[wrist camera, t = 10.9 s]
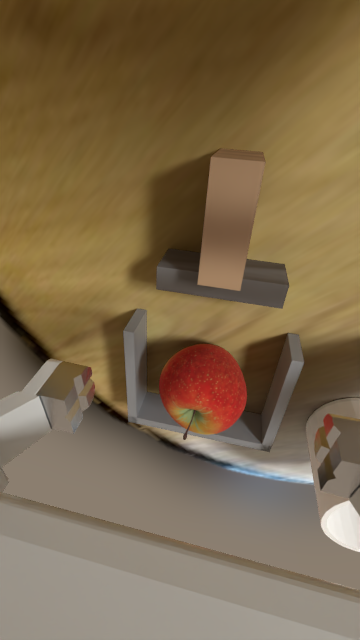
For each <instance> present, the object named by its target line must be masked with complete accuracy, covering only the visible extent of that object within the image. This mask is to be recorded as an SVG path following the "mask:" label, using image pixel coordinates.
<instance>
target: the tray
mask: <svg viewBox="0 0 360 640" xmlns="http://www.w3.org/2000/svg"><path fill="white" fill-rule="evenodd" d="M123 335H124V352H125V369H126V387H127V404H128V421H129V422H133V423H138V424H142V425H147V426H152V427H156V428H161V429H165V430H170V431H175V432H179V433H184V434H185V432H186V430H187V429H185V428H183V427H182V426H180V425H179V424H178V423H177V422H176V421H175V420H174V419H173V418H172V417H171V416H170V415H169V413H168V412H167V410H166V409H165V407H164V405H163V403H162V400H161V397H160V394H156V393H151V392H147V310H143V309H137V310H136V311H135V313H134V314H133V316H132V318H131V319H130V321H129V322H128V324H127V326H126V327H125V329H124V331H123ZM303 364H304V359H303V354H302V349H301V344H300V339H299V335H297V334H290V333H288V334H287V337H286V340H285V343H284V347H283V350H282V353H281V356H280V359H279V362H278V365H277V368H276V371H275V374H274V377H273V381H272V384H271V387H270V390H269V393H268V396H267V399H266V402H265V405H264V408H263V411H262V414H261V415H260V414H255V413H251V412H246V411H243V413H242V414H241V416H240V417H239V419H238V420H237V421H236V422H235V423H234V424H233V425H232V426H231V427H229V428H228V429H226V430H225V431H222V432H220V433H217V434H211V435H205V434H198V433H194V432H191V431H189V430H188V433H187V434H189V435H193V436H198V437H202V438H207V439H212V440H216V441H221V442H226V443H230V444H235V445H240V446H244V447H249V448H253V449H258V450H263V451H267V452H270V449H271V447H272V444H273V442H274V439H275V437H276V434H277V431H278V429H279V426H280V424H281V421H282V419H283V416H284V413H285V411H286V408H287V406H288V403H289V401H290V398H291V395H292V393H293V390H294V388H295V385H296V382H297V380H298V377H299V375H300V372H301V370H302V367H303Z"/></svg>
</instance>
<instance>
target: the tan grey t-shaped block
mask: <svg viewBox="0 0 360 640" xmlns="http://www.w3.org/2000/svg"><path fill="white" fill-rule="evenodd" d="M264 167H265V158H264V154H263V152H255V151H244V150H233V149H219V150H218V151H217V152H216V153H215V154H214V155H213V156H211V161H210V171H209V180H208V190H207V199H206V209H205V218H204V228H203V237H202V246H201V253H198V252H191V251H183V250H176V249H168V250H167V252H166V253H165V255H164V256H163V258H162V259H161V261H160V263H159V264H158V266H157V286H156V289H158V290H165V291H171V292H178V293H184V294H191V295H197V296H204V297H210V298H217V299H223V300H230V301H236V302H243V303H249V304H256V305H262V306H269V307H275V308H283V304H284V301H285V298H286V294H287V291H288V288H289V282H288V278H287V273H286V268H285V264H279V263H271V262H264V261H257V260H249V259H247V254H248V249H249V243H250V238H251V233H252V228H253V223H254V218H255V213H256V208H257V203H258V198H259V193H260V188H261V183H262V178H263V172H264Z"/></svg>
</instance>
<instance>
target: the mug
mask: <svg viewBox="0 0 360 640" xmlns="http://www.w3.org/2000/svg"><path fill="white" fill-rule="evenodd" d="M328 413H329V414H335V415H340V416H346V417H351V418H357V419H360V398H346V399H340V400H335V401H332V402H330V403H327V404H325V405H323V406H321V407H320V408H318V409H317V410H316V411H315V412H314V413H313V414H312V415H311V416H310V417H309V419H308V421H307V423H306V436H307V443H308V449H309V455H310V461H311V467H312V473H313V479H314V486H315V491H316V497H317V504H318V510H319V516H320V522H321V527H322V529H323V531H324V532H325V534H326V535H327V536H328V537H329V538H331V539H332V540H333V541H335V542H336V543H338V544H340V545H342V546H344V547H346V548H349V549H352V550H354V551H358V552H360V516H359V514H358V513H357V511H356V510H355V508H354V507H353V505H352V504H351V502H350V501H349V498H345V497H342V496H338V495H334V494H330V493H326V492H322V491H320V484H319V478H318V471H317V470H318V468H319V466H320V465H321V463H320V462H319V461H318V460H317V458H316V457H315V451H314V441H315V435H316V433H317V431H318V428H320V427H323V426H324V422H323V419H324V417H325V416H326V415H327V414H328Z"/></svg>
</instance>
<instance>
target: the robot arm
mask: <svg viewBox="0 0 360 640" xmlns="http://www.w3.org/2000/svg"><path fill="white" fill-rule="evenodd" d="M91 375H92V370H91V367H87V366H83V365H78V364H74V363H69V362H65V361H60V360H55V359H49V360H48V361H46V362H45V363H44V365H43V366H42V367H41V368H40V370H39V371H38V372H37V373H36V374H35V376H34V377H33V378H32V379H31V381H30V382H29V383H28V384H27V386H26V387H25V388H24V389H23V390H22V391H21V392H18V391H17V392H15V393H13V394H11V395H9V396H7V397H5V398H3V399H1V400H0V640H360V590H357V589H354V588H350V587H346V586H343V585H339V584H335V583H331V582H328V581H324V580H321V579H317V578H313V577H310V576H306V575H303V574H299V573H295V572H291V571H288V570H284V569H281V568H277V567H273V566H270V565H266V564H262V563H259V562H255V561H251V560H248V559H244V558H240V557H237V556H233V555H229V554H226V553H222V552H218V551H215V550H211V549H207V548H204V547H200V546H197V545H193V544H189V543H186V542H182V541H178V540H175V539H171V538H167V537H164V536H160V535H156V534H153V533H149V532H145V531H142V530H138V529H134V528H131V527H127V526H124V525H120V524H116V523H113V522H109V521H105V520H102V519H98V518H94V517H91V516H87V515H83V514H80V513H76V512H72V511H69V510H65V509H61V508H57V507H54V506H50V505H47V504H43V503H39V502H36V501H32V500H28V499H25V498H21V497H17V496H14V495H10V494H6V493H3V491H4V489H5V488H6V486H7V484H8V483H9V482H8V477H7V476H6V474H5V473H4V471H3V470H2V467H3V466H5V465H6V464H7V463H8V462H10V461H11V460H13V459H14V458H15V457H17V456H18V455H19V454H21V453H22V452H23V451H24V450H26V449H27V448H29V447H30V446H31V445H32V444H34V443H35V442H37V441H38V440H39V439H41V438H42V437H43V436H45V435H46V434H47V433H49V432H50V431H51V429H54V430H59V431H64V432H68V433H73V434H74V432H75V431H76V429H77V427H78V425H79V424H80V422H81V420H82V418H83V416H82V411H83V410H85V409H87V408H88V407H89V406H90V404H91V402H92V400H93V396H94V393H95V385H94V382H93V381H92V380H91V379H90V377H91ZM323 422H324V426H323V427H320V428H318V431H317V433H316V435H315V441H314V451H315V457H316V458H317V460H318V461H319V462H320V463H321V465H320V466H319V468H318V470H317V471H318V478H319V484H320V491H322V492H326V493H330V494H334V495H338V496H342V497H345V498H349V501H350V502H351V504H352V505H353V507H354V508H355V510H356V511H357V513H358V514H359V516H360V419H357V418H351V417H346V416H340V415H335V414H329V413H328V414H327V415H326V416H325V417H324V419H323Z"/></svg>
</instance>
